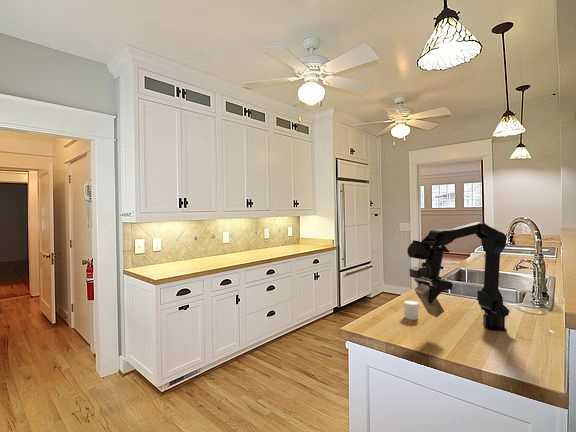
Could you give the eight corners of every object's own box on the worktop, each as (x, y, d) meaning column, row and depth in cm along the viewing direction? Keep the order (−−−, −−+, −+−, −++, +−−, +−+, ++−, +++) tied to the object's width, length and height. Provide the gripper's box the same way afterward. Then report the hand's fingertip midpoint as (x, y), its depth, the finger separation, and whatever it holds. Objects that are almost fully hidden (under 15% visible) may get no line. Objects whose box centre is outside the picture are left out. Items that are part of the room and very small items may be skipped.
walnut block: (436, 307, 123) (421, 283, 121) (444, 311, 118) (429, 286, 117) (428, 313, 122) (413, 289, 121) (436, 317, 118) (421, 292, 116)
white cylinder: (421, 320, 135) (420, 305, 135) (404, 319, 136) (404, 304, 136) (417, 315, 142) (417, 300, 142) (402, 314, 143) (401, 299, 143)
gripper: (401, 254, 127) (394, 291, 127) (430, 262, 109) (422, 305, 109) (425, 259, 129) (418, 295, 129) (457, 267, 111) (449, 310, 111)
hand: (425, 300), depth 119 cm, fingers closed on walnut block, 5 cm apart
